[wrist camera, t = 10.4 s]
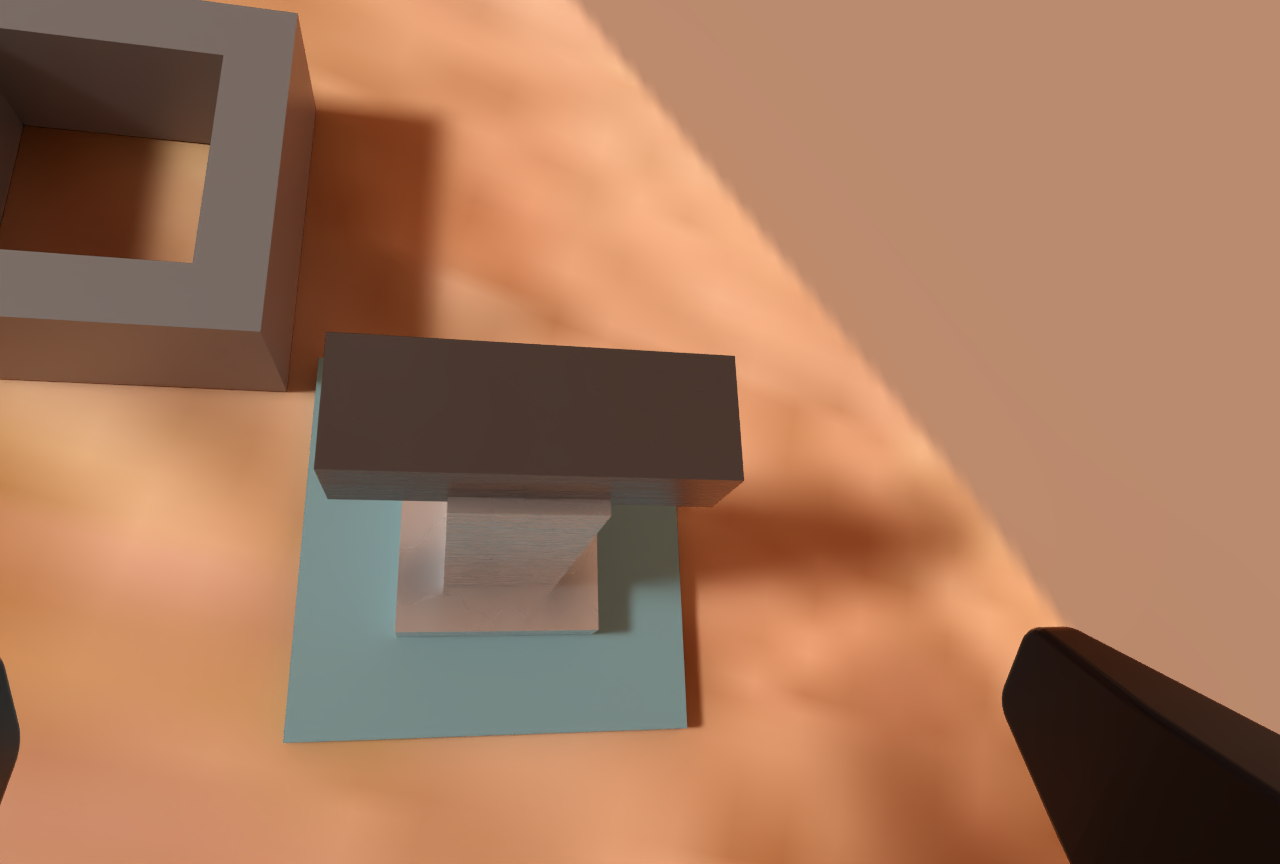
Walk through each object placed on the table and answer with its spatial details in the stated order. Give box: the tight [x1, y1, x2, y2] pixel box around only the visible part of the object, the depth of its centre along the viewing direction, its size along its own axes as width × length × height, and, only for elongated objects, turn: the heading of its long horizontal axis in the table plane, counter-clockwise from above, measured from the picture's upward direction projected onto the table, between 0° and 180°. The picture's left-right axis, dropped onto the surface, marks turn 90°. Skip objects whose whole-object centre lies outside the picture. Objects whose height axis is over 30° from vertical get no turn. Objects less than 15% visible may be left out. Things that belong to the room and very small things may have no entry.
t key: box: [314, 332, 744, 637], centre depth 17 cm, size 4×6×9 cm
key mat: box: [283, 358, 687, 743], centre depth 21 cm, size 9×9×1 cm
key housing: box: [0, 0, 316, 392], centre depth 20 cm, size 8×8×4 cm
